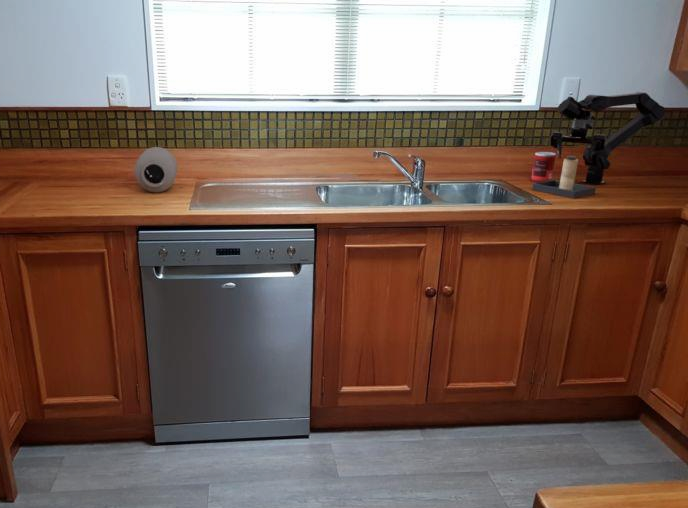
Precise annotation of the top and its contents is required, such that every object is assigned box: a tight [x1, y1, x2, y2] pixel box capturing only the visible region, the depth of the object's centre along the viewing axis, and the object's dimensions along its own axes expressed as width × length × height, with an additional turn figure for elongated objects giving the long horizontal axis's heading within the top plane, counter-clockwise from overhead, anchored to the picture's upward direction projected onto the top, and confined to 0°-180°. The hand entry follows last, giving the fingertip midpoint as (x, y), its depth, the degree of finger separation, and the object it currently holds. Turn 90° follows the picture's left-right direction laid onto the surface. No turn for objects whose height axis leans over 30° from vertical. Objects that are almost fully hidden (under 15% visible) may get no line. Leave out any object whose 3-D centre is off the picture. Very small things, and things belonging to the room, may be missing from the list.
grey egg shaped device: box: [133, 146, 178, 194], centre depth 222 cm, size 19×15×25 cm
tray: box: [531, 179, 597, 199], centre depth 226 cm, size 13×17×2 cm
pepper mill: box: [559, 155, 579, 191], centre depth 221 cm, size 5×5×13 cm
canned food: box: [531, 151, 557, 183], centre depth 243 cm, size 8×8×11 cm
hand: (573, 158), depth 226 cm, fingers open, 9 cm apart
